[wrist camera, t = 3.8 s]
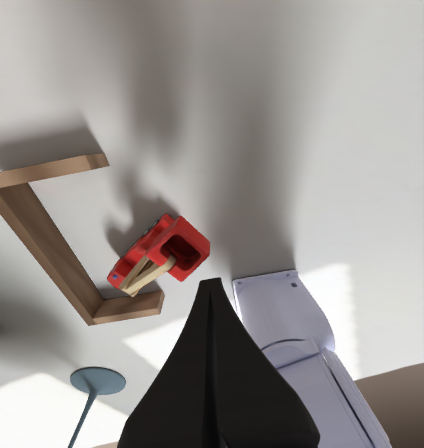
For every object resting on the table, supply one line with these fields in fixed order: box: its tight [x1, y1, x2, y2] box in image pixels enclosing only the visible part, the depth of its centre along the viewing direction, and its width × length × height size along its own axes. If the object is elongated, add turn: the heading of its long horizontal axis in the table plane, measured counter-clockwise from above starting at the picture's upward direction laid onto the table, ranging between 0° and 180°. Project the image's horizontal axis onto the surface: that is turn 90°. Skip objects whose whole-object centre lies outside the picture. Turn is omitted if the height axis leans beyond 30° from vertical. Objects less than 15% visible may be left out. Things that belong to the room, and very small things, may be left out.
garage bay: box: [0, 153, 165, 326], centre depth 20 cm, size 10×20×3 cm, turn 10°
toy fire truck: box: [107, 214, 210, 297], centre depth 17 cm, size 3×14×10 cm, turn 133°
